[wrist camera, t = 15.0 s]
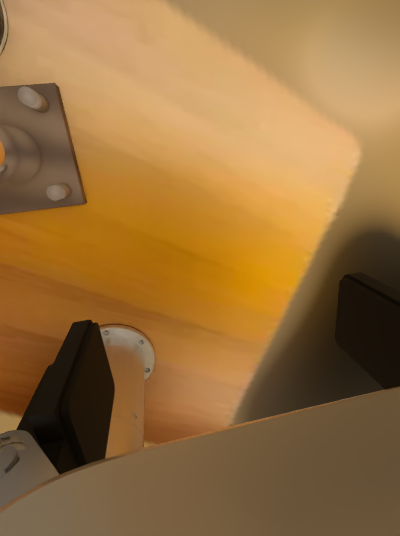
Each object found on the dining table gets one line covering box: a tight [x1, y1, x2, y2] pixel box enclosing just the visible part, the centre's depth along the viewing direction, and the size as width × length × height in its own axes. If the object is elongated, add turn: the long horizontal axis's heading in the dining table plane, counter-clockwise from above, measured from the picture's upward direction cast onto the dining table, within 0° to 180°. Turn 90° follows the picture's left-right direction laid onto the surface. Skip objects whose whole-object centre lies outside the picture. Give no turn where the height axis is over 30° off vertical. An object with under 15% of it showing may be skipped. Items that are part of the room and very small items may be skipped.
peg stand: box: [0, 83, 87, 214], centre depth 31 cm, size 13×13×6 cm
